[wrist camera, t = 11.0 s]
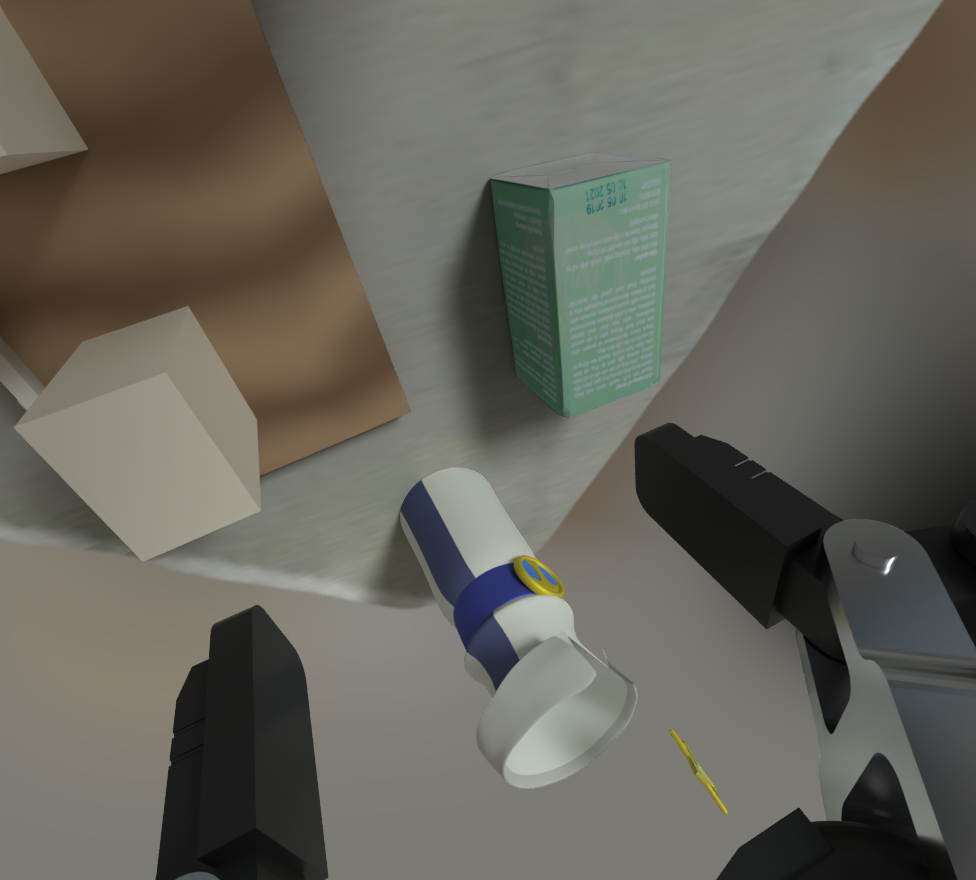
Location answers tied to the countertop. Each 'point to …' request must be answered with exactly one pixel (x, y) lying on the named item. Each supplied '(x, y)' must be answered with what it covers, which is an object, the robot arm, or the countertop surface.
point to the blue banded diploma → (517, 636)
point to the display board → (186, 219)
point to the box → (584, 275)
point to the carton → (150, 434)
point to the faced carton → (29, 110)
